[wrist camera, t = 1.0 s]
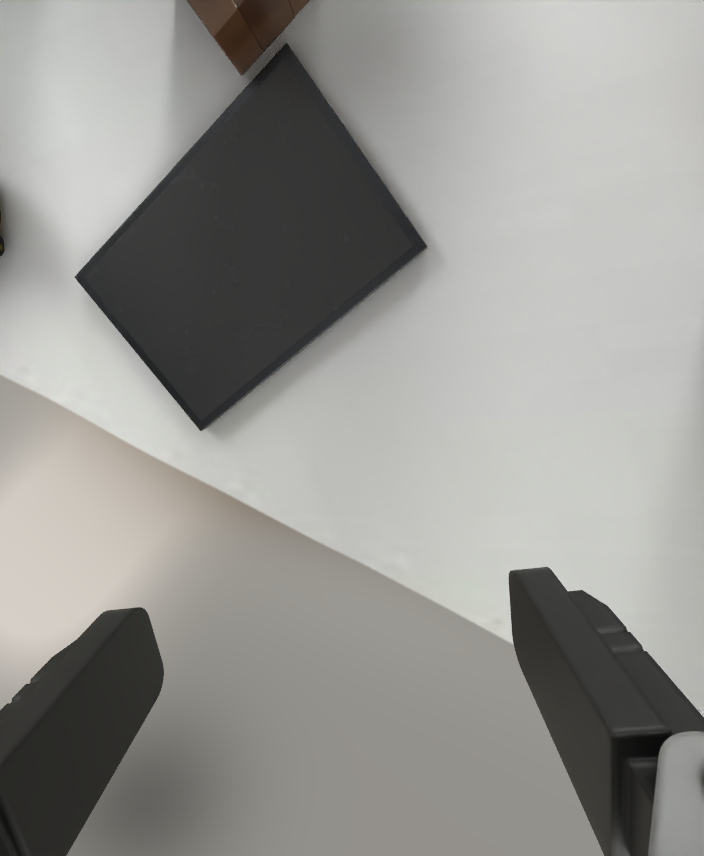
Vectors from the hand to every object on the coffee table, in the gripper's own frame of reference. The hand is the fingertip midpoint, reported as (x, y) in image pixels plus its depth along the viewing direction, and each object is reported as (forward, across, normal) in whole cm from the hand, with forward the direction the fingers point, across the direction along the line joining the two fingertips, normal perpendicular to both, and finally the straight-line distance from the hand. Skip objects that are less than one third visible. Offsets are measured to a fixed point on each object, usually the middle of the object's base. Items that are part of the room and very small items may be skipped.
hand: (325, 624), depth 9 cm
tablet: (+24, +7, -12) cm, 28 cm away
